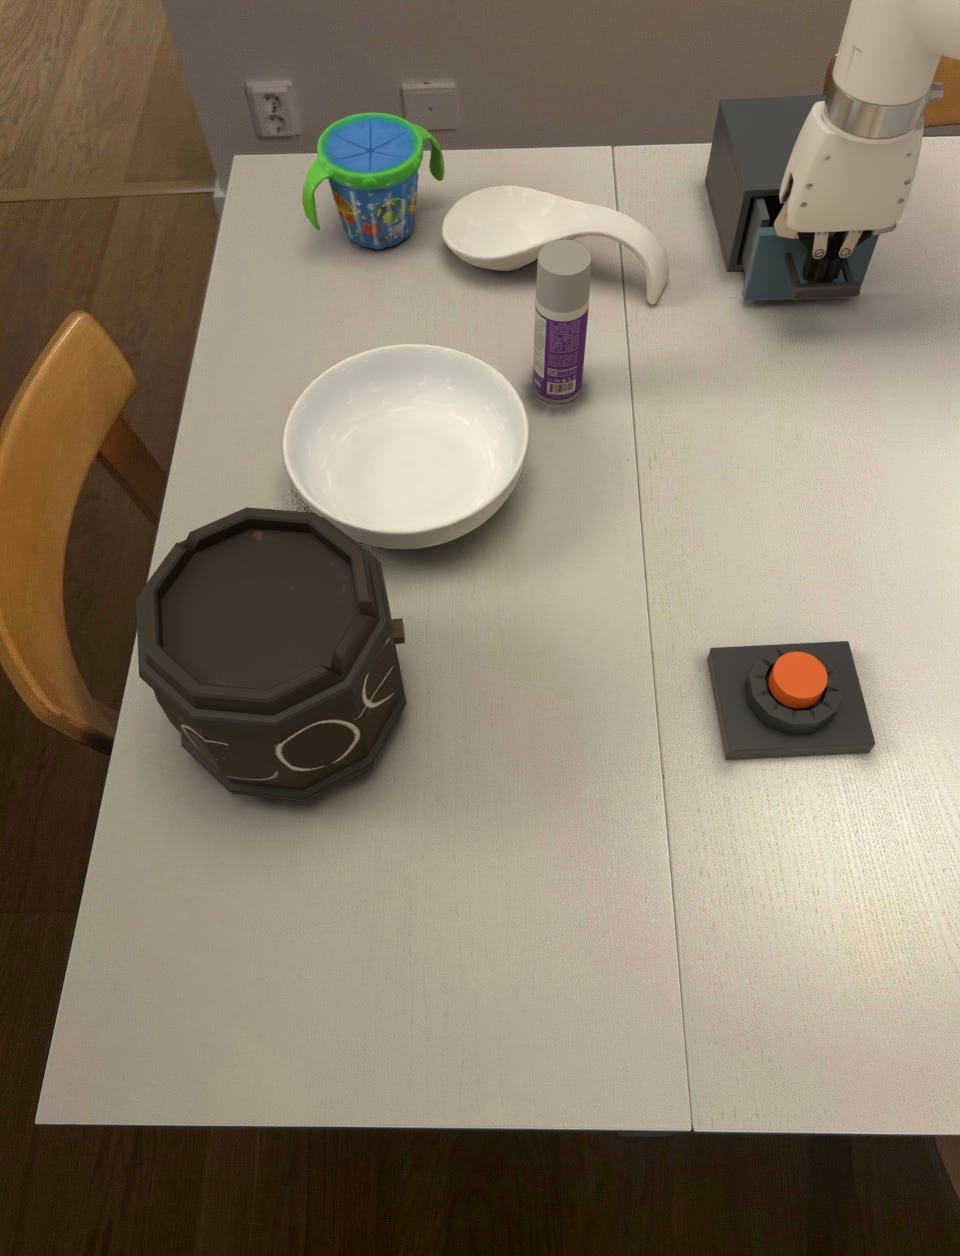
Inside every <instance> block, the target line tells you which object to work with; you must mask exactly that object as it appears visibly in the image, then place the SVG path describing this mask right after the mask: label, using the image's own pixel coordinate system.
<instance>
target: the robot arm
mask: <svg viewBox="0 0 960 1256" xmlns="http://www.w3.org/2000/svg"><path fill="white" fill-rule="evenodd" d="M942 56H943V57H946V58H949V59H953V60H957V61H960V0H851V2H850V6H849V10H848V14H847V17H846V22H845V24H844V29H843V32H842V35H841V40H840V43H839V47H838V49H837V54H836V58H835V61H834V65H833V69H832V72H831V76H830V80H829V85H828V87H827V91H826V94H825V95H826V98H825V101H820V102H816V103H815V104H814V106H813V107H812V109H811V111H810V113H809V115H808V116H807V118H806V120H805V122H804V125H803V127H802V129H801V131H800V133H799V136H798V138H797V140H796V143H795V145H794V148H793V151H792V153H791V156H790V159H789V162H788V165H787V168H786V171H785V174H784V177H783V180H782V184H781V188H780V193H779V199H780V203H785V204H784V206H783V207H782V209H781V211H780V213H779V215H778V217H777V219H776V220H775V222H774V227H775V230H776V234H777V235H778V236H780V237H786V238H791V239H795V238H797V239H799V240H800V241H801V242H802V243H803V245H804V246H805V247H806V248H807V249H808V251H807V254H806V257H805V261H804V264H803V268H802V276H803V279H804V280H807V281H808V283H828V282H833V279H837V278H838V275H839V272H840V269H841V266H842V263H843V260H844V258H846V257H848V256H850V255H851V253H852V252H853V250H854V248H855V247H856V246H857V245H859V244H860V243H862V242H863V241H865V240H866V239H868V238H869V237H870V236H871V235H873V236H874V235H879V234H880V235H882V234H887V233H891V232H893V231H895V230H896V228H897V223H898V221H900V218H901V217H902V215H903V213H904V212H905V208H906V206H907V203H908V201H909V197H910V194H911V191H912V188H913V184H914V181H915V176H916V174H917V169H918V164H919V161H920V155H921V149H922V143H923V136H924V128H925V116H924V112H925V109H926V107H927V105H928V104H932V103H933V102H941V101H942V100H943V98H944V95H945V84H944V82H935V81H934V77H935V74H936V73H937V70H938V66H939V64H940V60H941V57H942ZM829 232H833V233H832V237H828V235H829ZM880 235H879V236H880Z"/></svg>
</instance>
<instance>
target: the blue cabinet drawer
mask: <svg viewBox="0 0 960 1256" xmlns="http://www.w3.org/2000/svg"><path fill="white" fill-rule="evenodd" d="M784 204H785V203H780V199H779V196H758V197H751V201H750V205H749V210H748V214H747V219H746V223H745V228H744V232H743V236H742V241H741V245H740V250H739V252H740V256H741V260H742V264H743V267H744V271H743V272H744V275H745V279H744V283H743V287H742V290H741V295H742V298H743V301H744V302H750V301H768V300H769V301H772V300H790V299H792V300H793V301H801V300H819V299H820V300H822V299H840V298H841V299H843V298H858V297H859V296H860V294H861V288H862V285H863V282H864V279H865V278H866V277H865V276H866V274H867V271H868V268H869V266H870V263H871V260H872V258H873V254H874V252H875V249H876V246H877V243H878V241H879V237H880V236H881V234H879V235H874V236H873V235H871V236H870V237H869V238H868V239H866V240H865V241H863V242H862V243H860V244H859V245H857V246H856V247H855V248H854V250H853V252H852V253H851V255H850V256H848V257H846V258H844V260H843V263H842V266H841V269H840V272H839V275H838V278H837V279H833V282H828V283H808V281H807V280H804V279H803V276H802V268H803V264H804V261H805V257H806V254H807V251H808V249H807V248H806V247H805V246H804V245H803V243H802V242H801V241H800V240H799V239H797V238H795V239H791V238H786V237H780V236H778V235H777V234H776V230H775V227H774V222H775V220H776V219H777V217H778V215H779V213H780V211H781V209H782V207H783V206H784ZM832 233H833V232H829V235H828V237H832Z"/></svg>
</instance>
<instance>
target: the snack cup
mask: <svg viewBox="0 0 960 1256" xmlns="http://www.w3.org/2000/svg"><path fill="white" fill-rule="evenodd" d="M428 140H429V142H430V144H431V148H430V158H429V166H428V167H429V172H430V174H431V175H432V177H433V178H434V179H435V180H436V181H438V182H442V181H443V180H444V177H445V172H446V171H445V161H444V155H443V151H442V148H441V146H440V144H439V142H438V140H437V139H436V138H435V137H434V136H433V134H431V133H430V132H429V131H428V130H427V129H425V128H424V127H422V126H420V125H418V124H414V123H411V122H410V121H409V120H407V119H405V118H403V117H400V116H398V115H395V114H391V113H386V112H362V113H357V114H351V115H347V116H345V117H343V118H340V119H338V120H336V121H335V122H333V123H331V124H330V125H329V126H328V127H327V128H325V130H324V131H323V132H322V133H321V135H320V136H319V138H318V140H317V146H316V149H317V151H316V152H317V157H316V159H314V161H313V163H312V164H311V165H310V167H309V168H308V171H307V173H306V175H305V178H304V181H303V186H302V201H301V202H302V207H303V210H304V214H305V216H306V217H307V219H308V220H309V222H310V223H311V225H312V226H313V228H315V230H317V231H320V230H321V226H320V224H319V222H318V214H317V207H316V198H315V197H316V196H315V192H316V190H317V189H318V187H319V186H320V185H321V183H322V182H324V181H325V180H327V181H328V184H329V187H330V191H331V194H332V198H333V201H334V204H335V207H336V209H337V212H338V215H339V220H340V222H341V225H342V228H343V231H344V233H345V235H346V238H347V240H349V241H350V242H354V243H355V244H357V245H359V246H361V247H365V248H368V249H375V250H379V251H381V250H384V249H385V248H389V247H393V246H396V245H398V244H400V243H401V242H402V241H403V240H405V239H407V238H409V237H411V235H412V231H413V228H414V225H415V221H416V212H417V211H416V210H417V201H418V200H417V199H418V190H419V189H418V188H419V185H418V183H419V169H420V167H421V164H422V162H423V159H424V142H426V141H428Z"/></svg>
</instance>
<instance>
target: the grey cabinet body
mask: <svg viewBox="0 0 960 1256" xmlns="http://www.w3.org/2000/svg"><path fill="white" fill-rule="evenodd" d="M825 98H826V94H811V95H810V94H809V95H808V94H807V95H789V96H787V95H786V96H767V97H748V98H729V99H728V98H726V99H725V98H723V99H719V102H718V108H717V113H716V118H715V125H714V130H713V135H712V141H711V146H710V152H709V158H708V164H707V169H706V174H705V179H704V184H705V187H706V192H707V195H708V200H709V204H710V208H711V213H712V216H713V219H714V224H715V229H716V232H717V236H718V240H719V244H720V248H721V254H722V256H723V260H724V261H723V262H724V265H725V268H726V272H745V271H744V267H743V264H742V260H741V256H740V252H739V250H740V245H741V241H742V236H743V232H744V228H745V223H746V219H747V214H748V210H749V205H750V201H751V197H758V196H779V193H780V188H781V184H782V180H783V177H784V174H785V171H786V168H787V165H788V162H789V159H790V156H791V153H792V151H793V148H794V145H795V143H796V140H797V138H798V136H799V133H800V131H801V129H802V127H803V125H804V122H805V120H806V118H807V116H808V115H809V113H810V111H811V109H812V107H813V106H814V104H815V103H816V102H820V101H825Z"/></svg>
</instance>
